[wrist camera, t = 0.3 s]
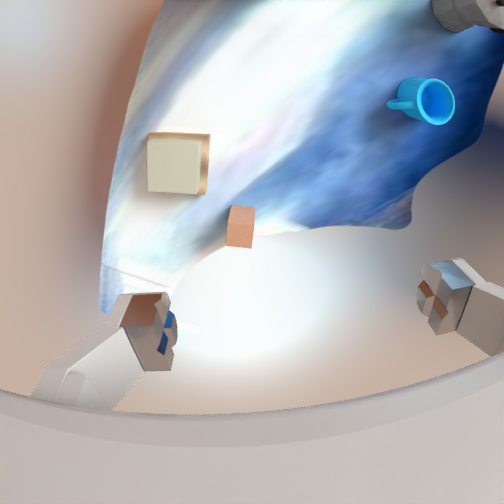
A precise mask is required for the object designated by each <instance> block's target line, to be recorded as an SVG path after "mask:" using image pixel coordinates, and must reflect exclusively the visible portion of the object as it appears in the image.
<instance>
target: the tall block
mask: <svg viewBox="0 0 504 504" xmlns="http://www.w3.org/2000/svg"><path fill="white" fill-rule="evenodd" d="M254 219H255V207H246V206H237V205H232V206H231V210H230V215H229V219H228V225H227V237H226V246H234V247H243V248H251V247H252V239H253V231H254Z"/></svg>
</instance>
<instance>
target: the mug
mask: <svg viewBox="0 0 504 504" xmlns="http://www.w3.org/2000/svg"><path fill="white" fill-rule="evenodd" d="M387 107H388V108H389V109H393V110H400V109H401V110H402V111H403V112H404V113H405V114H406V115H408V116H409V117H412V118H415V119H418V120H422V121H425V122H428V123H431V124H434V125H441V124H444V123H446V122H447V121H448V120H450V119H451V117H452V115H453V113H454V108H455V101H454V97H453V93H452V91H451V90H450V88H449V87H448V86H447V85H446V84H445V83H444V82H443V81H440V80H438V79H426V78H409V79H406V80H404V81H403V82H402V83H401V84H400V86H399V88H398V91H397V99H394V100H391V101H388V102H387Z"/></svg>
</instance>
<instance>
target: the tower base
mask: <svg viewBox="0 0 504 504" xmlns="http://www.w3.org/2000/svg"><path fill="white" fill-rule="evenodd" d="M152 139H177V140H199V141H202V148H201V168H200V189H199V191H198V193H197V195H205V193H206V191H207V177H208V161H209V146H210V134H198V133H177V132H151V133H149V134H148V141H150V140H152Z"/></svg>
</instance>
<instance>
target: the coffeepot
mask: <svg viewBox="0 0 504 504" xmlns="http://www.w3.org/2000/svg"><path fill="white" fill-rule="evenodd" d="M432 10H433V14H434V16H435V17H436V19H437V20H438V22H439V23H440V24H441V25H442V26H443V27H444V28H445V29H448V30H450V31H453V32H456V33H459V32H462V31H464V30H466V29H468V28H470V27H473V26H474V25H478V26H484V27H489V28H490V29H491V30H492V31H493V32H496V33H500V34H503V35H504V0H432Z"/></svg>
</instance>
